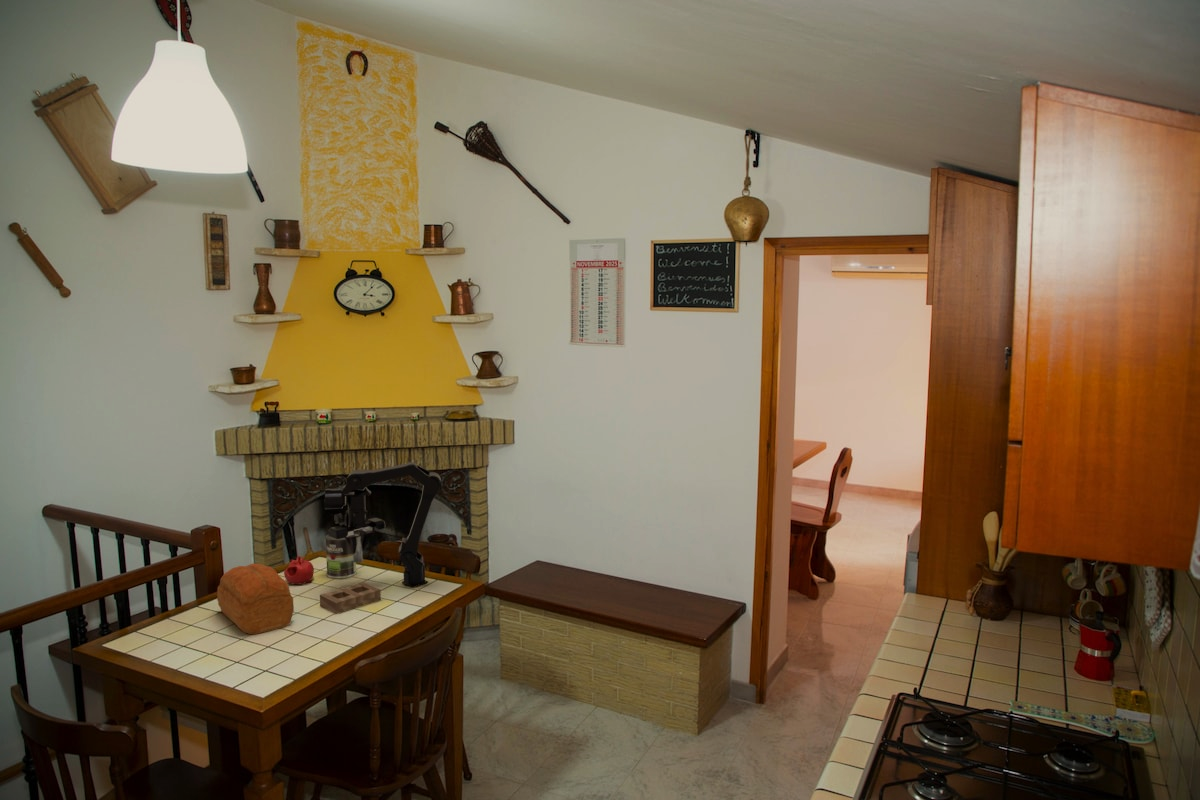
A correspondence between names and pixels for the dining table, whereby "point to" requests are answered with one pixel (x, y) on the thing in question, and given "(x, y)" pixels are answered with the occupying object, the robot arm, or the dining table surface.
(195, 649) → the dining table surface
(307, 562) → the pomegranate
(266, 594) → the bread
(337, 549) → the coffee can
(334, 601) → the socket block
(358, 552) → the peg
